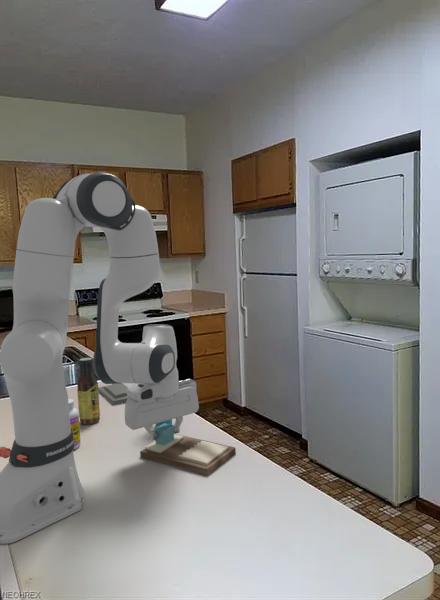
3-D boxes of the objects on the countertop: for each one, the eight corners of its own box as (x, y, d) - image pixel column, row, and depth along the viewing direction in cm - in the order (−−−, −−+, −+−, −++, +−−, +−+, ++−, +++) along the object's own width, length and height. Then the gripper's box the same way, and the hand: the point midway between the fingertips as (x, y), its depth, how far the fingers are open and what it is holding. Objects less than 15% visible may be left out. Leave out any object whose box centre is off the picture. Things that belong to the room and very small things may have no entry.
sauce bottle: (97, 425, 141) (92, 361, 139) (76, 426, 141) (71, 362, 139) (103, 417, 148) (98, 356, 145) (83, 418, 148) (78, 357, 146)
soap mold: (123, 387, 181) (122, 378, 180) (140, 401, 163) (140, 391, 163) (97, 392, 176) (96, 383, 175) (111, 407, 158) (111, 397, 158)
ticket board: (207, 475, 107) (206, 466, 107) (140, 457, 118) (139, 448, 118) (235, 453, 118) (235, 444, 118) (172, 438, 129) (171, 430, 129)
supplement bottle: (73, 453, 122) (69, 406, 121) (50, 452, 124) (46, 405, 122) (85, 442, 129) (81, 397, 127) (63, 441, 130) (59, 397, 129)
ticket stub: (160, 453, 117) (159, 435, 116) (145, 449, 119) (144, 431, 119) (184, 438, 125) (183, 421, 124) (169, 434, 128) (168, 418, 127)
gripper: (189, 374, 129) (192, 422, 130) (120, 390, 117) (123, 443, 119) (202, 379, 124) (204, 429, 125) (130, 396, 112) (134, 451, 114)
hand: (164, 436), depth 122 cm, fingers open, 5 cm apart
